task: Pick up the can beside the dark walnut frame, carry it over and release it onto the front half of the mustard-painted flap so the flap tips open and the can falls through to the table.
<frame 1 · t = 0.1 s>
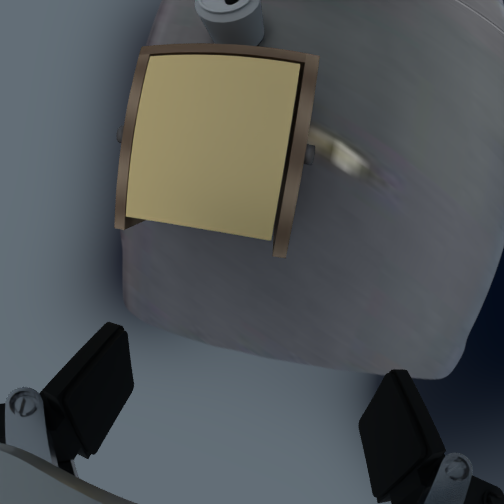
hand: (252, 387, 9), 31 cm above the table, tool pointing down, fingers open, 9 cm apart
trapdoor frame: (231, 149, 36), on the table
can: (238, 35, 31), on the table
trapdoor flap: (206, 138, 23), point 14 cm above the table, hinge at 0.0°
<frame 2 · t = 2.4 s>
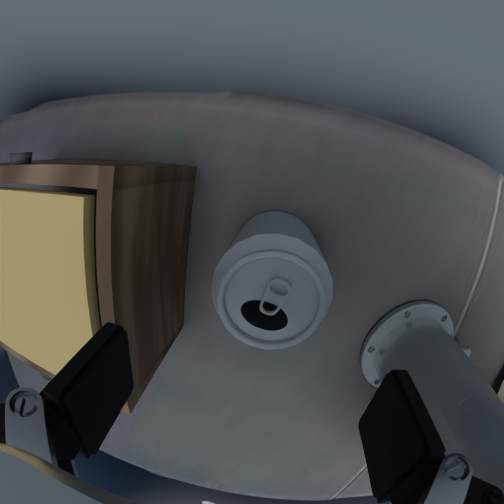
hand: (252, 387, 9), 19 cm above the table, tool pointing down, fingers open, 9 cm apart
trapdoor frame: (109, 238, 28), on the table
can: (275, 248, 27), on the table
trapdoor flap: (17, 285, 15), point 14 cm above the table, hinge at 0.0°
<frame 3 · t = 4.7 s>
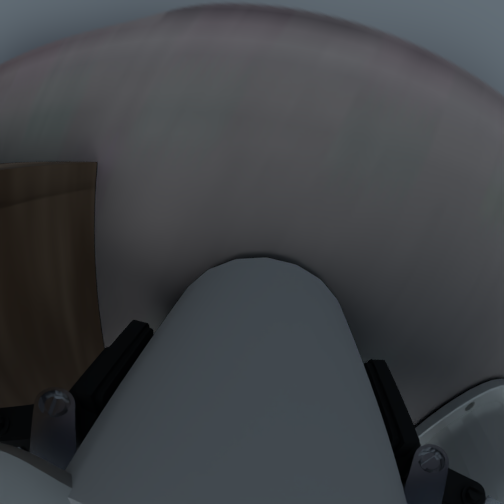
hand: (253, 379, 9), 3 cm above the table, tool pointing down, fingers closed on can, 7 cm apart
trapdoor frame: (4, 286, 14), on the table
can: (260, 327, 13), on the table, touching gripper
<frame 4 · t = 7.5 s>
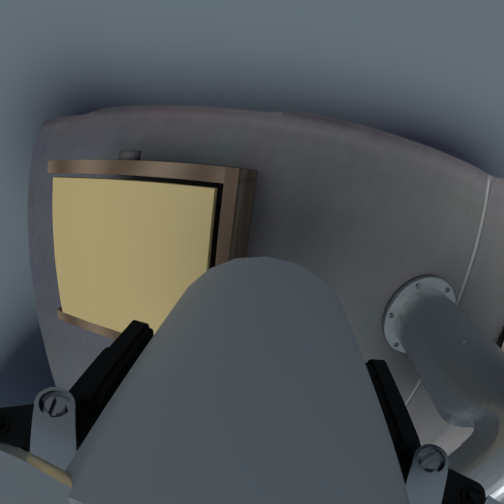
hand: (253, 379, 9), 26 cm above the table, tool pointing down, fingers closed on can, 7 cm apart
trapdoor frame: (176, 228, 36), on the table
can: (261, 326, 13), point 23 cm above the table, touching gripper
trapdoor flap: (119, 262, 22), point 14 cm above the table, hinge at 0.0°
when the fingers open (21 cm above the table, at t = 10.4 s): can drops 3 cm, resting on trapdoor flap.
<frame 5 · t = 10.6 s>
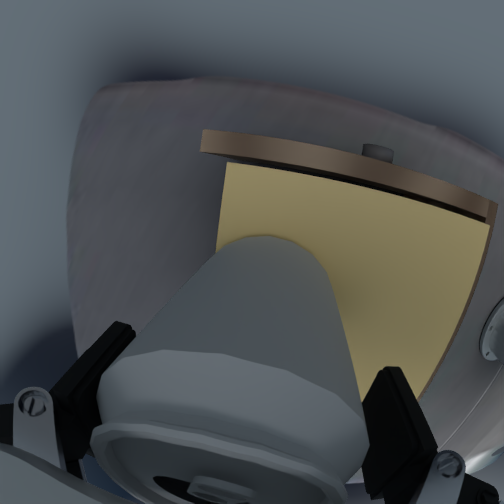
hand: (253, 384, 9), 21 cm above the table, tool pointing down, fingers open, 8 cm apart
trapdoor frame: (317, 245, 29), on the table
can: (265, 296, 16), point 14 cm above the table, touching gripper, trapdoor flap
trapdoor flap: (347, 309, 16), point 14 cm above the table, hinge at 4.6°, touching can
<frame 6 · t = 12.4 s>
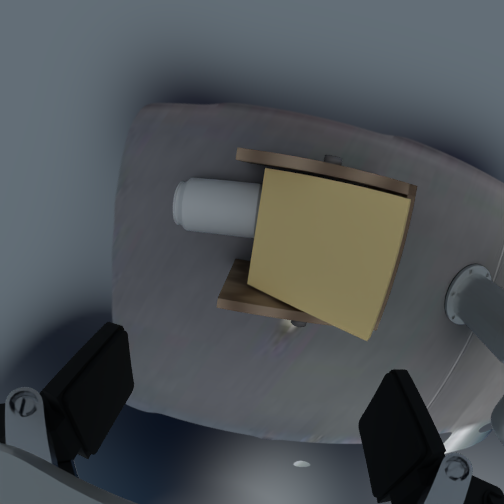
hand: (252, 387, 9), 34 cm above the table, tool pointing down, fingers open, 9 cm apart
trapdoor frame: (305, 222, 41), on the table
can: (265, 211, 38), point 4 cm above the table
trapdoor flap: (318, 248, 28), point 14 cm above the table, hinge at 36.4°
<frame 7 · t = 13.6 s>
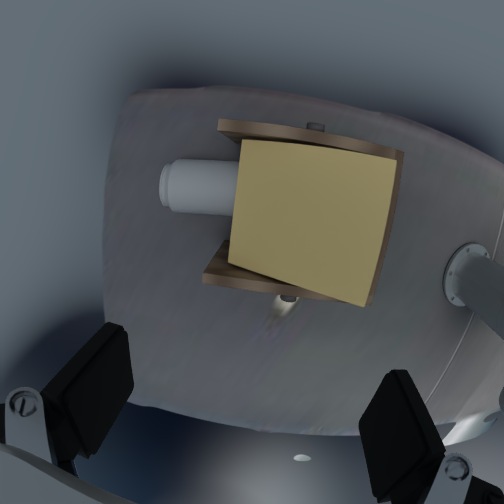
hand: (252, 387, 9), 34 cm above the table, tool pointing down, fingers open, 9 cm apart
trapdoor frame: (294, 200, 41), on the table
can: (252, 190, 37), point 4 cm above the table
trapdoor flap: (304, 216, 27), point 14 cm above the table, hinge at 27.2°
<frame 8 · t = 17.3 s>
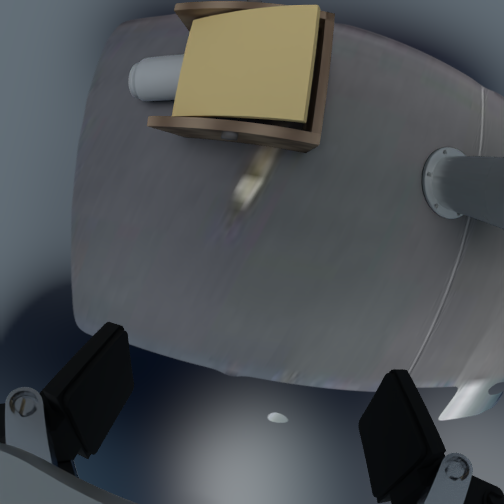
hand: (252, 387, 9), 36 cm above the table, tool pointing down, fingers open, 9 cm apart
trapdoor frame: (252, 91, 38), on the table
can: (210, 76, 34), point 4 cm above the table
trapdoor flap: (241, 58, 25), point 14 cm above the table, hinge at 21.8°
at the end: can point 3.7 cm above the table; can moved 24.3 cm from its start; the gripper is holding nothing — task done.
